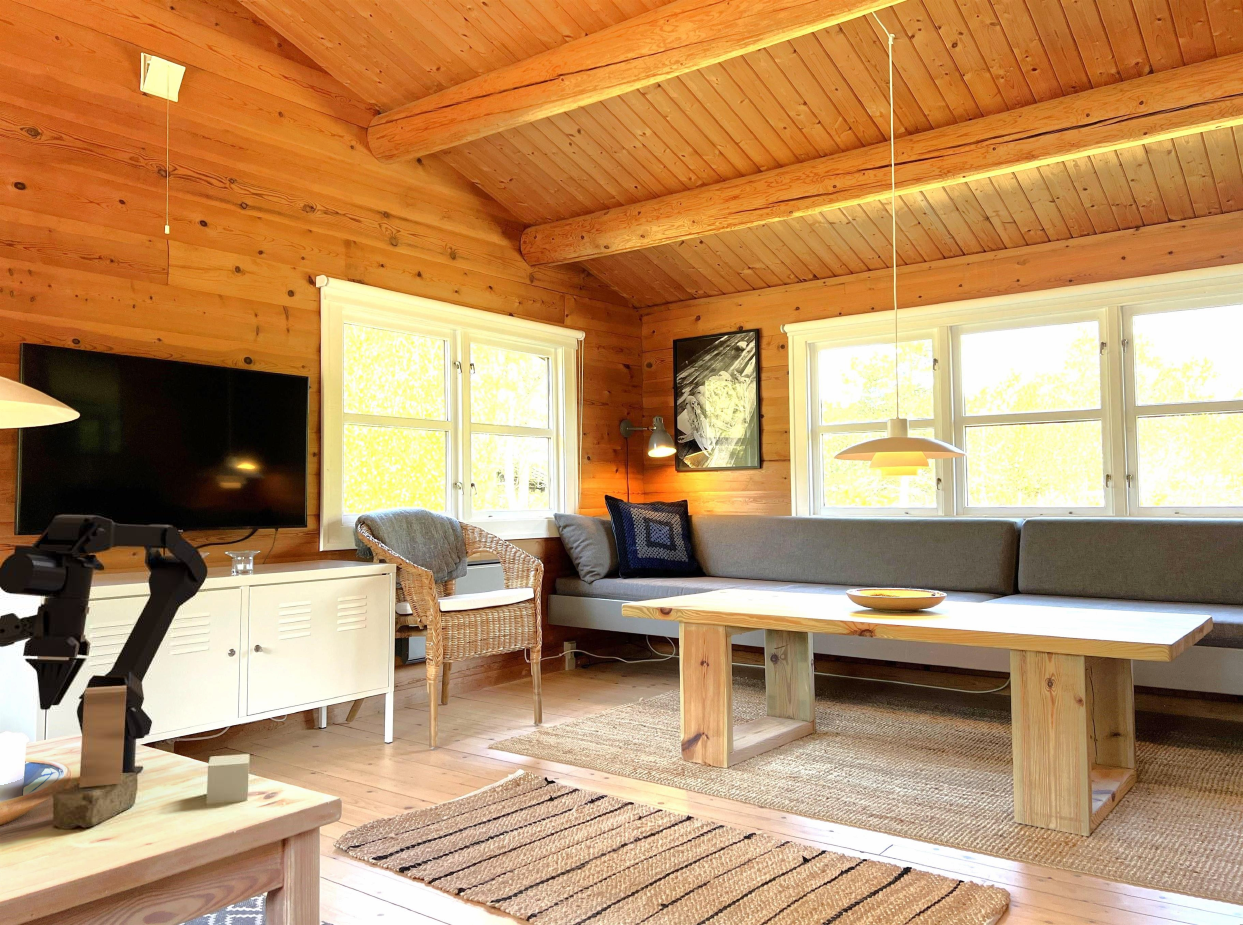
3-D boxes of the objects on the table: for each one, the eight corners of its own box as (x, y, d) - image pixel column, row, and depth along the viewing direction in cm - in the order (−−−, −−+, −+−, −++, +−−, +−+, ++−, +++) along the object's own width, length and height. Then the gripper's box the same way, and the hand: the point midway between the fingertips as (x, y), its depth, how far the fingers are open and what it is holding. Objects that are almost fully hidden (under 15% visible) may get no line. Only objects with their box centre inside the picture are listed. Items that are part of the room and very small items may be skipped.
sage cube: (208, 794, 140) (210, 756, 140) (248, 790, 142) (249, 754, 142) (206, 804, 135) (208, 766, 135) (247, 801, 137) (248, 763, 137)
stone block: (140, 806, 134) (141, 770, 134) (88, 833, 123) (90, 795, 123) (101, 804, 135) (103, 769, 135) (46, 831, 123) (48, 793, 123)
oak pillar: (81, 778, 130) (86, 687, 131) (122, 774, 132) (126, 685, 133) (79, 787, 126) (84, 693, 127) (121, 783, 128) (125, 691, 129)
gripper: (15, 598, 143) (-3, 702, 140) (-11, 592, 127) (-31, 711, 123) (97, 602, 148) (81, 703, 145) (83, 597, 131) (65, 712, 128)
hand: (49, 707), depth 135 cm, fingers open, 9 cm apart
